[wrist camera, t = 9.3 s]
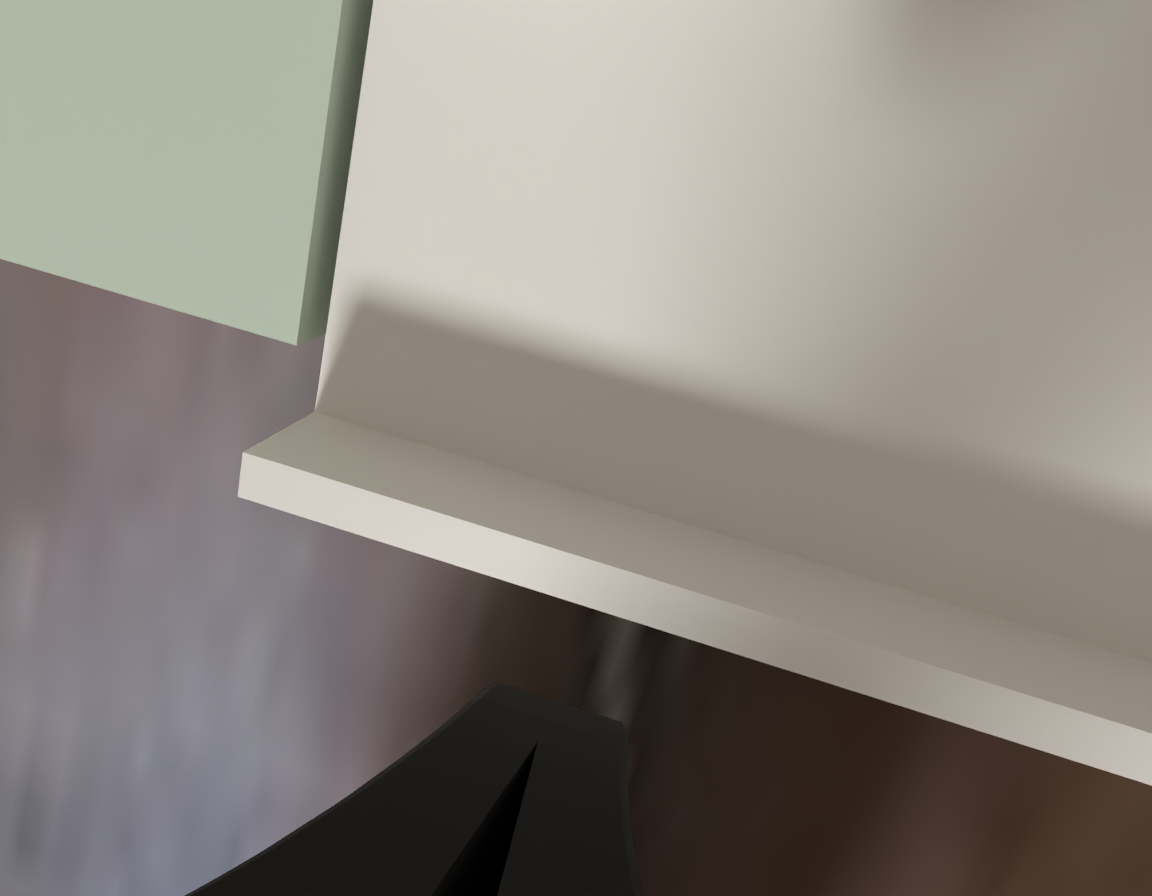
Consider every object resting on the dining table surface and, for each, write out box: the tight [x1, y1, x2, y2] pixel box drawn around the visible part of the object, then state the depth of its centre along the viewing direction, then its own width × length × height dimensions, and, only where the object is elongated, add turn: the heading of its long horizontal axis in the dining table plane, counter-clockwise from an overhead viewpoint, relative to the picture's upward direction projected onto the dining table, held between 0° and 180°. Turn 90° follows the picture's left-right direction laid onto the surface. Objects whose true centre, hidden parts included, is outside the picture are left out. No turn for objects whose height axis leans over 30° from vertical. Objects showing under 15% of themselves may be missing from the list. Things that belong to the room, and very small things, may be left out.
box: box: [238, 0, 1152, 785], centre depth 14 cm, size 12×21×4 cm, turn 77°
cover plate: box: [0, 0, 373, 346], centre depth 17 cm, size 8×11×2 cm
